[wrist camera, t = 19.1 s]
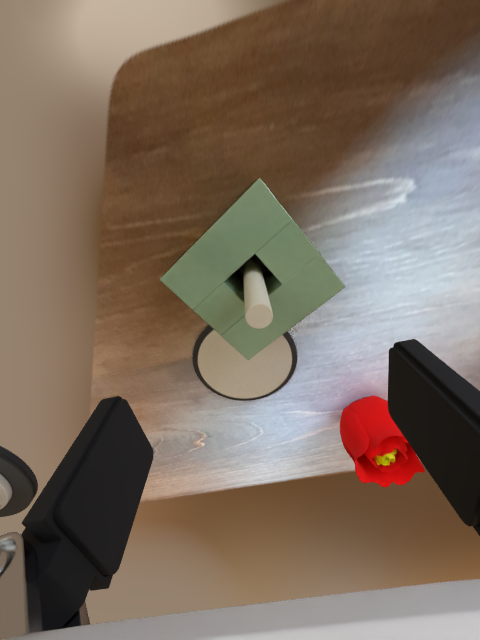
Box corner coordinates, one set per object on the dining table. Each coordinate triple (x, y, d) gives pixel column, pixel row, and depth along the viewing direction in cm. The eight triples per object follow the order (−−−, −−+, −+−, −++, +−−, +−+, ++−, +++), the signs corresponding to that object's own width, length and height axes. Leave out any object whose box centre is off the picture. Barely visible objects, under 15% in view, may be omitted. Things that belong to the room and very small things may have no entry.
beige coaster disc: (171, 357, 31) (170, 360, 30) (248, 291, 27) (248, 292, 27) (241, 414, 35) (241, 417, 34) (317, 362, 31) (318, 365, 31)
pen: (233, 262, 26) (229, 315, 15) (252, 245, 25) (261, 288, 14) (250, 280, 27) (257, 342, 16) (268, 264, 26) (288, 318, 15)
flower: (377, 375, 32) (417, 429, 25) (404, 412, 35) (447, 471, 27) (320, 406, 34) (342, 464, 27) (349, 439, 37) (376, 500, 30)
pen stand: (175, 260, 26) (159, 279, 20) (255, 180, 23) (259, 177, 17) (246, 329, 29) (248, 360, 24) (324, 266, 26) (345, 287, 21)
